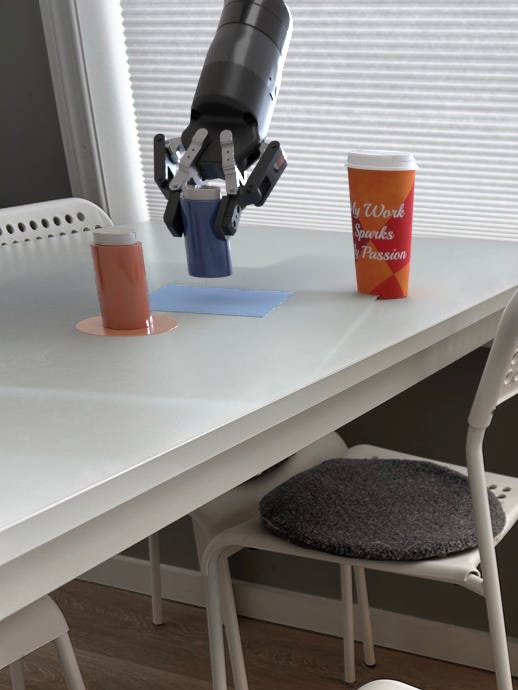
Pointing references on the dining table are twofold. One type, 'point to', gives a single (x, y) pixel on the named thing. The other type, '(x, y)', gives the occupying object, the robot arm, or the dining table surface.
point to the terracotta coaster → (96, 328)
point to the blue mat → (216, 300)
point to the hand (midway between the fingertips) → (197, 233)
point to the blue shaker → (204, 233)
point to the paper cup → (382, 219)
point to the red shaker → (120, 279)
